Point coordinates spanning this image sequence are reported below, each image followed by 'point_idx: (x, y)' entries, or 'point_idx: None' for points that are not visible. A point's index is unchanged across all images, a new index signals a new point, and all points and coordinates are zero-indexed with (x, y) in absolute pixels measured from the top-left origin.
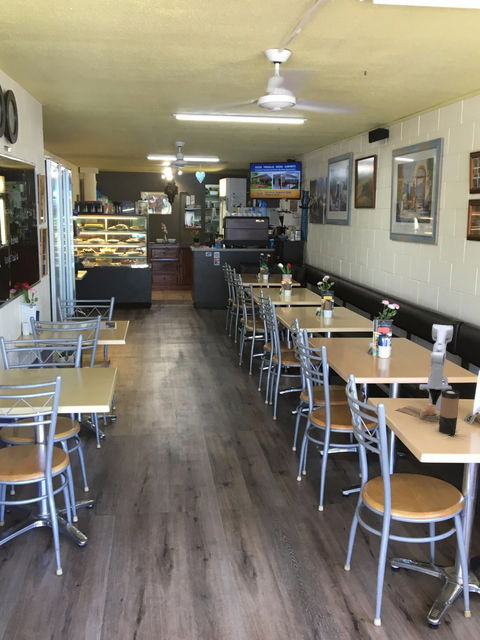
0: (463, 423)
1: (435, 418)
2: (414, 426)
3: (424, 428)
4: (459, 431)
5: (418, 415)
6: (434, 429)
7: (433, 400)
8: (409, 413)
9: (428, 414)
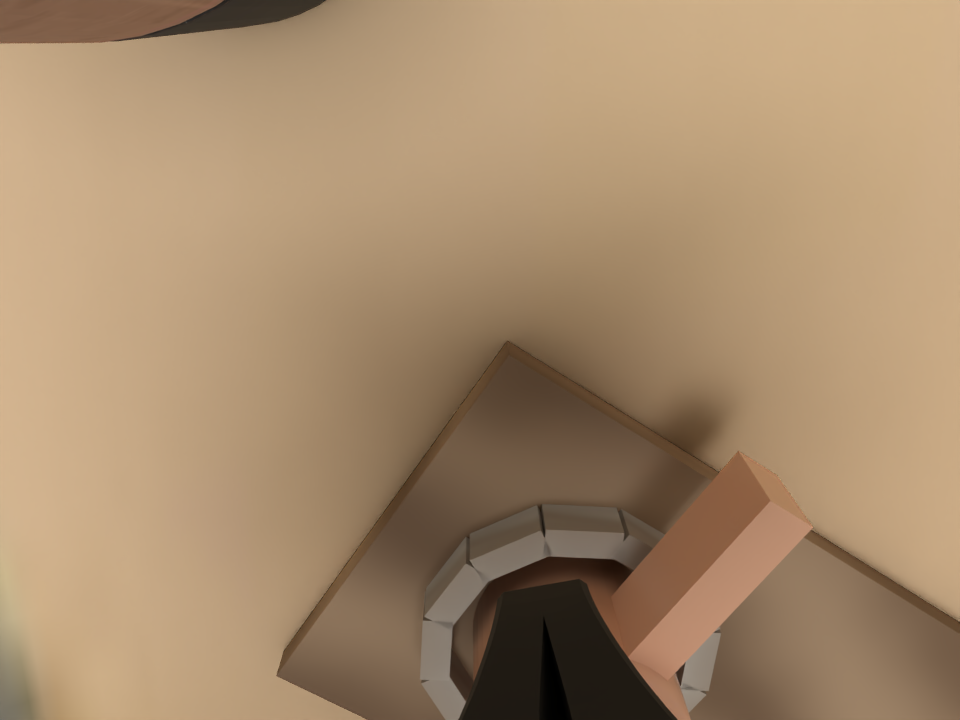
0: (11, 564)
1: (465, 544)
2: (877, 78)
3: (687, 23)
4: (5, 103)
5: (744, 614)
6: (488, 37)
7: (610, 663)
8: (884, 657)
9: (597, 592)
